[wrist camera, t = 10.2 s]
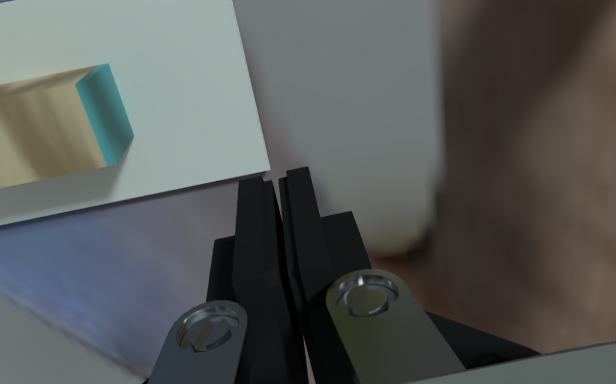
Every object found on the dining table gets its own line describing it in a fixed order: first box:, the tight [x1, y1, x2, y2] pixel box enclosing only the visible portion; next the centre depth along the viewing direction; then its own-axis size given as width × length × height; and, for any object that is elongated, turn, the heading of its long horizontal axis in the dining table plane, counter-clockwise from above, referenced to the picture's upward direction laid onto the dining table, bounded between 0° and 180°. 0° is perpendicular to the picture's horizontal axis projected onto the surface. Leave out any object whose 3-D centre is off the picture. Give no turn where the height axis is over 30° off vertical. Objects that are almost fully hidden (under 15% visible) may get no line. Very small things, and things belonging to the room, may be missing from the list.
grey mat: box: [0, 0, 270, 225], centre depth 33 cm, size 22×14×1 cm, turn 100°
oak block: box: [0, 63, 134, 188], centre depth 30 cm, size 5×5×10 cm
